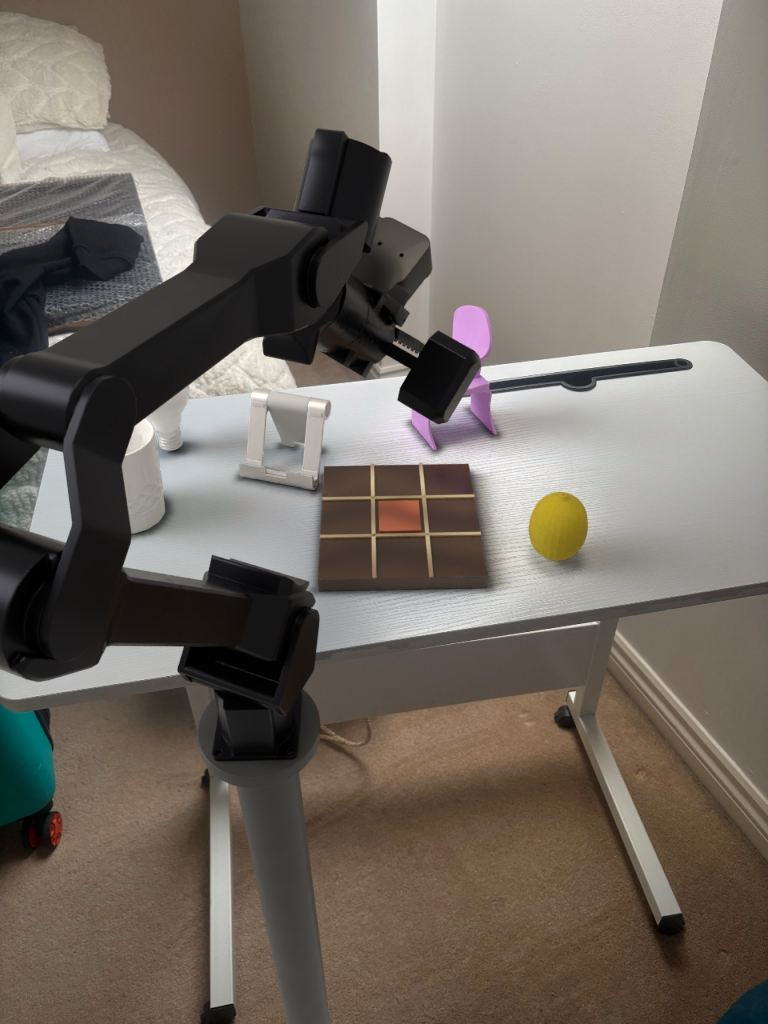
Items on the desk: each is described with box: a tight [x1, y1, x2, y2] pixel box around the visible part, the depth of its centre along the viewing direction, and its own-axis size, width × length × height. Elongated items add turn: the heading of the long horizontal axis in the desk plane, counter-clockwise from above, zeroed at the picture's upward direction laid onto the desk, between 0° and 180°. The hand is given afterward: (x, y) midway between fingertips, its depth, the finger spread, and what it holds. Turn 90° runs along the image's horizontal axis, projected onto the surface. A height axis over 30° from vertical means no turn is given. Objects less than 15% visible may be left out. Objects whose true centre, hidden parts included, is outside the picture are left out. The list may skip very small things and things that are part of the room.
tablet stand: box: [238, 387, 332, 491], centre depth 91 cm, size 9×8×8 cm
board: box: [317, 462, 489, 592], centre depth 85 cm, size 18×16×2 cm
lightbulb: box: [147, 385, 191, 452], centre depth 93 cm, size 6×6×11 cm
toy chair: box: [411, 304, 498, 451], centre depth 95 cm, size 8×9×15 cm
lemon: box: [528, 491, 589, 562], centre depth 79 cm, size 6×6×8 cm
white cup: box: [122, 418, 166, 535], centre depth 84 cm, size 8×8×10 cm
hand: (394, 357), depth 74 cm, fingers open, 9 cm apart
